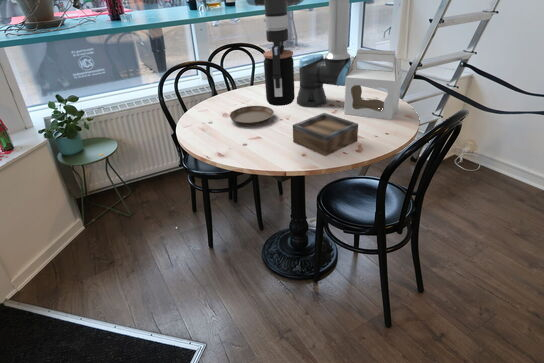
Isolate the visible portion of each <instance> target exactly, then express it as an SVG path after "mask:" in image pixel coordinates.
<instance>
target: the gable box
mask: <svg viewBox="0 0 544 363" xmlns="http://www.w3.org/2000/svg"><path fill="white" fill-rule="evenodd" d="M350 60H351V63H350V69H349V71H348V73H347V76H346V83H345V86H344V90H345V91H344V109H343V111H344V112H343V115H347V116H348V115H350V116H358V117H363V116H364V117H366V118H371V117H372V118H373V119H380V118H382V120H388V119H390V120H389V121H392V120H393V119H394V117H395V116H396V114H397V113H398V111H397V110H399V104H400V103H399V102H400V97H401V95H400V94H401V87H402V78H403V71H402V68H401V66H402V65H401V61H402V60H401V58H397V56H396V51H394V50H383V49H382V50H381V49H380V50H379V49H378V50H377V49H358V50H357V51H356V55H355V56H350ZM364 61H366V62H378V63H379V62H381V63H382V62H384V63H392V65H393V66H392V70H383V69H382V70H379V69H367V68H366V69H363V68H358V62H364ZM362 87H366V88H371V89H372V88H373V89H378V88H380V89H384V90H387V95H386V97H385V98H384V101H383V100H381V99H374V98H372V99H363V98H362V92H363V90H362ZM378 108H380V109H378ZM382 108H383V110H382ZM381 110H382V111H381ZM395 113H396V114H395ZM372 118H371V119H372Z"/></svg>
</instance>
